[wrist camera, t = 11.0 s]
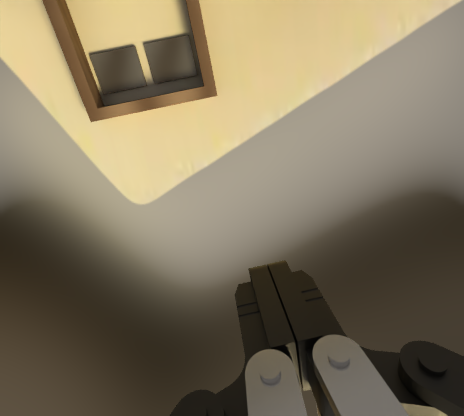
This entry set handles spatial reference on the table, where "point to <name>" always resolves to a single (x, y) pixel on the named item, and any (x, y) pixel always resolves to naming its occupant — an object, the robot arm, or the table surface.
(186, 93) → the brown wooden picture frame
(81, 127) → the table surface
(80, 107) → the table surface
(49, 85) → the table surface
